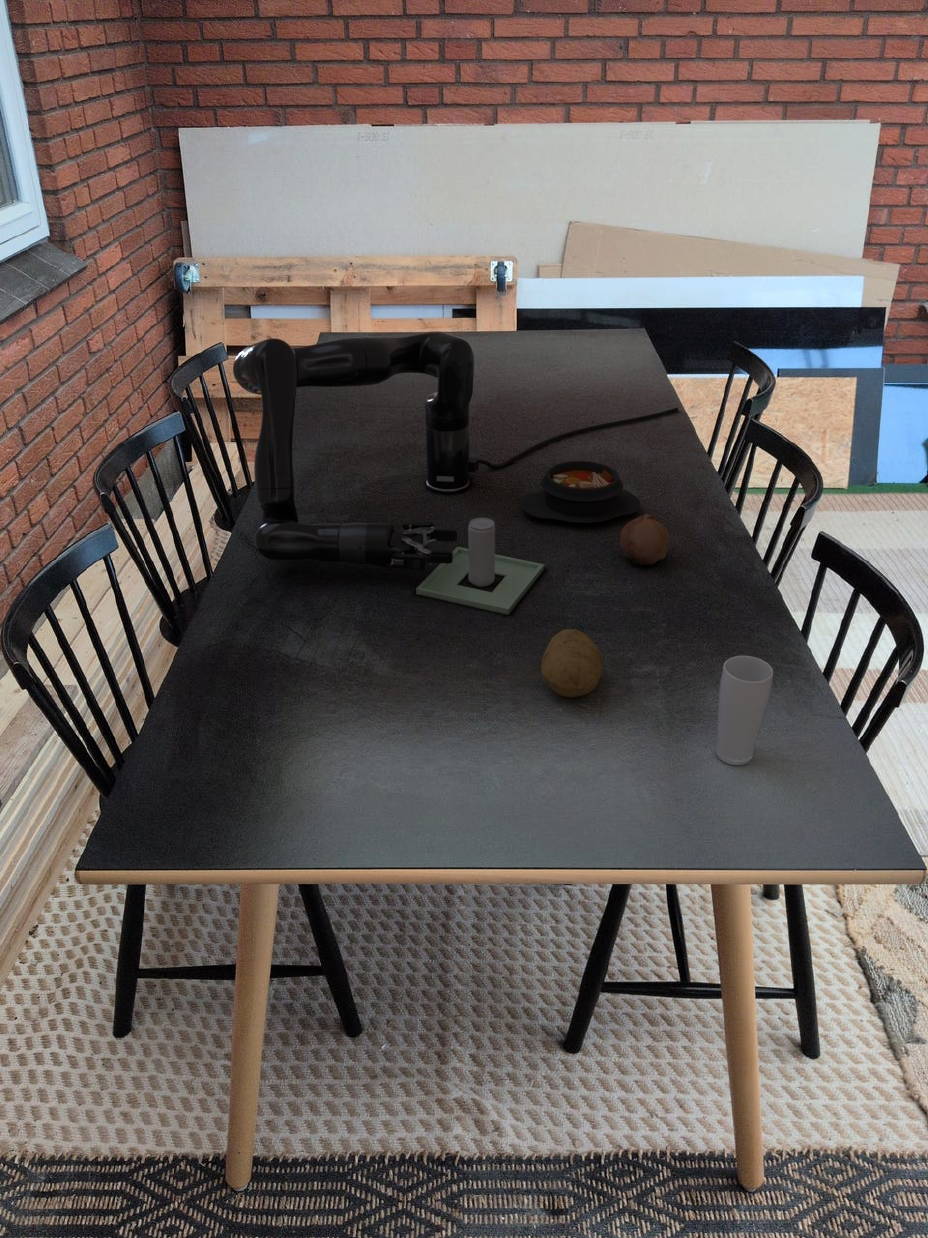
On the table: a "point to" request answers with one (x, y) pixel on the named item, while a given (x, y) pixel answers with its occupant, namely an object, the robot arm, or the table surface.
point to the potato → (571, 664)
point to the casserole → (580, 494)
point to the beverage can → (481, 551)
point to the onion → (644, 540)
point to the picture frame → (500, 600)
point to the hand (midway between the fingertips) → (454, 546)
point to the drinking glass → (742, 706)
